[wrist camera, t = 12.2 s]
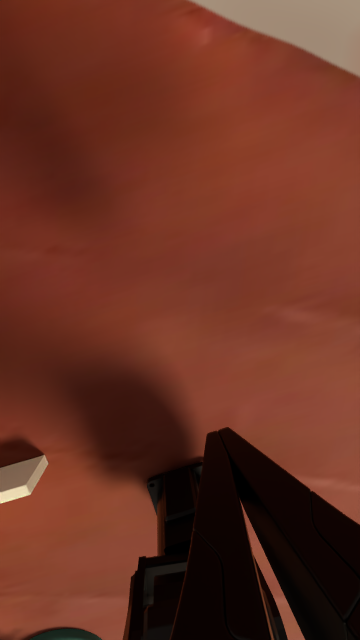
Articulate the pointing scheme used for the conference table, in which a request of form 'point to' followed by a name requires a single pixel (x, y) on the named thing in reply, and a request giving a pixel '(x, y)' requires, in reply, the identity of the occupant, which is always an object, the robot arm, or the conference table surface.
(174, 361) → the conference table surface
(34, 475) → the frame
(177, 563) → the robot arm
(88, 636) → the toy helicopter
